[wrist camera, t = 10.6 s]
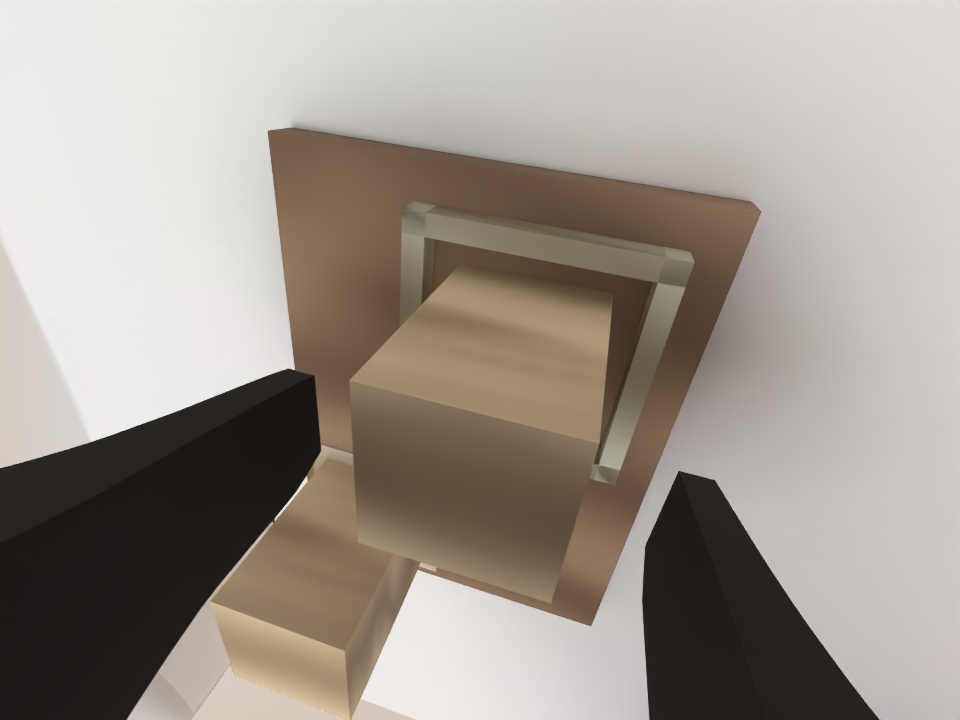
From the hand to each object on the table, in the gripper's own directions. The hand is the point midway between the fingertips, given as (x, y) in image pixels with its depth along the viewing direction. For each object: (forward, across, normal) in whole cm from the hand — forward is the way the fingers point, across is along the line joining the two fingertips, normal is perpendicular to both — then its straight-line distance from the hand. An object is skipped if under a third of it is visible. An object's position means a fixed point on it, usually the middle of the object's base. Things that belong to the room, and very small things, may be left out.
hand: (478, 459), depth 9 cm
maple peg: (+5, 0, 0) cm, 5 cm away
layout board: (+6, +2, +4) cm, 7 cm away
